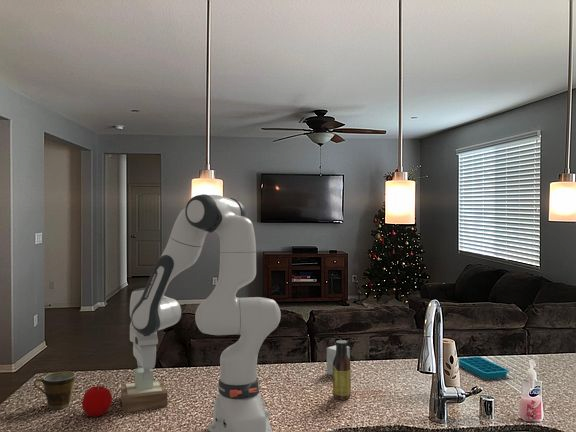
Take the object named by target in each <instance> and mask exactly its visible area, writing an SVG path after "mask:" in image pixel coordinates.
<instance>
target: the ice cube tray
mask: <svg viewBox="0 0 576 432" xmlns="http://www.w3.org/2000/svg"><path fill="white" fill-rule="evenodd" d="M458 358H459V359H458V360H459V361H458V360H457V361H458V365H459V366H460V367H461V368H463V369H465V370H467V371H468V372H470V371H471V372H470V373H473V374H475V375H476V376H478V377H479V378H482V379H485V380H492V379H502V378H507V374H508V373H509V372H510V369H507V368H505V367H503V366H501V365H499V364H497V363H495V362H492V361H490V360H488V359H487V358H483V357H482V356H470V357H469V356H468V357H458Z"/></svg>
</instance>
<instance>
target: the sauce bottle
mask: <svg viewBox="0 0 576 432" xmlns="http://www.w3.org/2000/svg"><path fill="white" fill-rule="evenodd" d="M335 345H336V355H335V358H334V361H333V375H332V394H333V397H334V399H336V400H342V401H343V400H344V401H346V400H348V399H350V398H351V393H352V391H351V389H352V385H351V383H352V381H351V380H352V379H351V377H352V376H351V371H352V370H351V358H350V359H349V357H348V356H347V346H348V341H347V340H345V339H344V340H343V339H339V340H336V341H335Z"/></svg>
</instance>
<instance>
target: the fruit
mask: <svg viewBox="0 0 576 432" xmlns="http://www.w3.org/2000/svg"><path fill="white" fill-rule="evenodd" d="M112 401H113V397H112V393H111V391H110V389H108V387H105V386H102V385H101V382H98V385H95V386H92V387H89V388H88V389H87V390H86V391H85V393H84V395H83V398H82V402H81V406H82V410H83V411H84V413H85V414H86V415H87V416H88V417H93V418H95V417H100V416H103V415H104V414H105V413H107V412H108V410H109V409H110V407H111V405H112Z"/></svg>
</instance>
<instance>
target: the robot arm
mask: <svg viewBox="0 0 576 432" xmlns="http://www.w3.org/2000/svg"><path fill="white" fill-rule="evenodd" d="M246 214H247V213H246V208H245V206H244V205H243V203H241V201H239V200H237V199H235V198H232V197H225V196H223V195H217V194H203V193H202V194H198V195H195V196H192V197H191V198H190V199H189V200H188V201H187V202H186V206H185V207H184V208H183V209H182V210H180V212H179V214H178V216H177V218H176V219H175V222H174V224H173V226H172V228H171V229H172V230H171V232H170V235H169V238H168V241H167V243H166V247H165V249H163V252H162V253H161V255H160V256H159V258H158V260H157V261H156V263H155V265H154V267H153V269H152V271H151V274H150V276H149V277H148V280H147V283H146V285H145V287H141V288H136V289H134V290H133V291H132V292H131V295H130V299H129V316H130V323H129V341H130V342H132V345H133V346H132V354H133V357H135V359H136V363H137V369H138V368H143V370H144V374H143V378H144V380H148V379H149V374H150V369H152V370H153V369H154V368H155V366H156V361H157V360H156V359H157V345H158V344H159V339H158V338H159V337H158V334H157V333H158V331H161V330H164V329H167V328H169V327H173V326H174V325H176V324H177V323H179V322H180V320H181V318H182V307H181V305H180V303H179V301H178V300H177V299H176V298H173V297H168V296H166V295H165V293H166V292H167V289H168V286H169V284H170V282H171V281H172V280H173V279H174V278H175V277H176V276H178V275H179V274H180V273H183V271H185V270H187V269H188V268H190V267H192V266H193V265H194V264H196V262H197V260H198V259H199V257H200V255H201V252H202V251H203V246H204V244H205V239H206V237H207V234H208V233H210V234H211V233H213V232H215V233H216V234H217V235H218V238H219V246H220V247H219V269H218V270H219V273H218V278H217V282H216V285H215V286H214V289H213V290H212V292H211V293H210V294H209V296H208V297H206V298H205V299H203V301H201V303H200V304H199V305H198V306H197V308H196V311H195V316H194V317H195V320H194V321H195V324H196V326H197V328H198V330H199V331H200V332H201V333H202V334H207V335H211V336H212V335H213V336H230V335H232V336H233V335H239V336H240V337H239V339H237V341H236V342H235V343H233V344H231V345H229V346H228V347H226V348H225V349H224V350H223V351H222V352H221V354H220V358H219V363H220V364H219V365H220V366H219V367H220V369H219V376H220V378H218V379H219V380H218V385H217V386H218V396H217V397H216V398H215V399H214V401H213V411H212V412H213V413H212V414H213V415H212V423H210V424H208V426H207V431H208V432H273V429H272V426H271V423H270V421H269V419H270V418H271V416H270V415H271V413H270V410H269V409H264V408H265V406H266V401H263V400H262V394H261V392H260V388H259V387H260V383H259V379H258V377H257V375H258V374H257V373H258V371H257V369H258V368H257V367H258V356H259V351H260V348H261V347H262V345H263V343H264V341H265V339H266V338H267V337H268V336H269V335H270V334H271V333H273V331H275V330H276V329H277V327H279V324H280V322H281V319H282V318H281V316H282V314H281V309H280V306H279V304H278V303H277V302H276V300H274V299H273V298H272V299H271V298H267V297H260V296H254V297H252V296H250V297H237V293H238V291H239V290H240V289H242V288H243V287H245V286H247V285H249V284H251V283H252V282H253V281H254V280H255V278H256V276H257V243H256V241H257V240H256V234H255V229H254V224H253V222H252V221H251V220H250V219H249V218H248V217H246V216H247V215H246Z"/></svg>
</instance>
